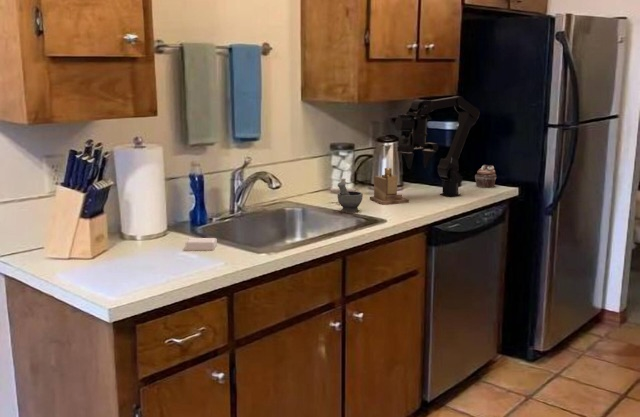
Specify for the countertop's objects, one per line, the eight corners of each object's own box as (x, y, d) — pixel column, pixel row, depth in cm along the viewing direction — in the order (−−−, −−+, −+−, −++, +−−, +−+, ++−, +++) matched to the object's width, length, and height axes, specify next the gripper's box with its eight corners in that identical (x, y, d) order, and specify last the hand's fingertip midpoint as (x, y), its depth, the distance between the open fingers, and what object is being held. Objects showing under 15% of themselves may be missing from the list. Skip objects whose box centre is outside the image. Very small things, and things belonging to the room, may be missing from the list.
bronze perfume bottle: (390, 196, 280) (391, 167, 278) (396, 198, 275) (397, 168, 273) (381, 197, 279) (381, 167, 276) (387, 199, 274) (387, 169, 271)
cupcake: (475, 184, 314) (476, 163, 312) (496, 185, 311) (497, 163, 309) (473, 187, 305) (474, 166, 303) (495, 188, 302) (496, 166, 300)
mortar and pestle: (350, 207, 266) (350, 177, 264) (367, 210, 260) (367, 180, 257) (330, 211, 259) (329, 181, 256) (347, 215, 252) (347, 184, 249)
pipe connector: (356, 200, 279) (356, 176, 277) (354, 205, 269) (354, 180, 267) (332, 200, 280) (332, 176, 278) (330, 205, 270) (330, 180, 268)
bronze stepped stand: (395, 197, 285) (395, 173, 283) (408, 202, 274) (409, 177, 272) (369, 199, 281) (369, 175, 278) (382, 204, 270) (382, 180, 267)
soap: (217, 246, 211) (216, 237, 211) (214, 251, 206) (213, 241, 205) (189, 246, 212) (188, 237, 211) (185, 251, 206) (184, 241, 206)
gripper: (421, 128, 287) (419, 164, 290) (389, 129, 276) (387, 167, 279) (440, 130, 278) (438, 167, 281) (408, 132, 267) (406, 170, 270)
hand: (417, 168), depth 278 cm, fingers open, 9 cm apart
